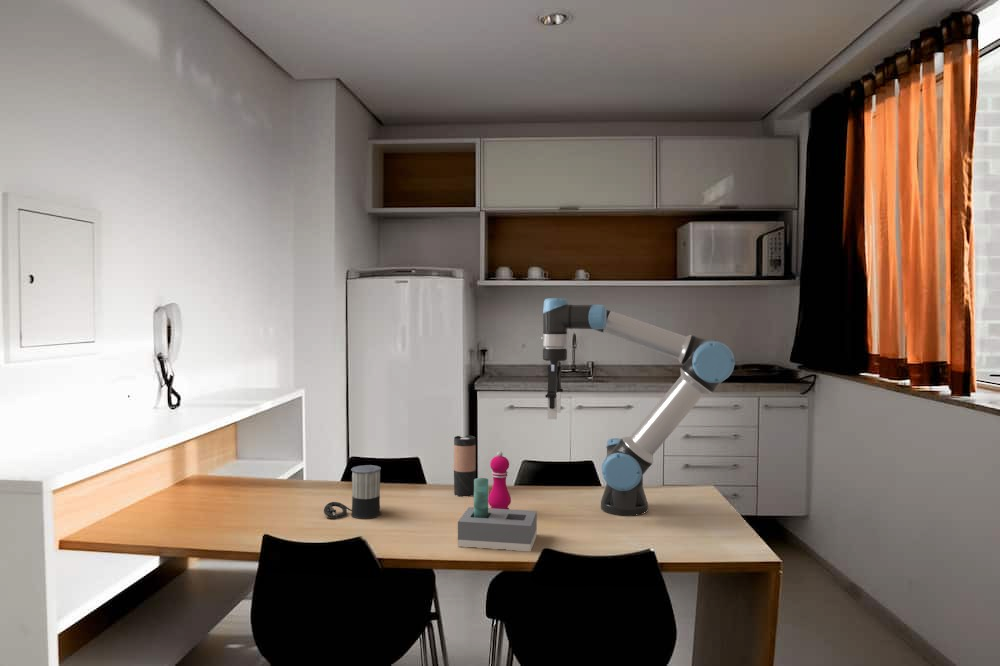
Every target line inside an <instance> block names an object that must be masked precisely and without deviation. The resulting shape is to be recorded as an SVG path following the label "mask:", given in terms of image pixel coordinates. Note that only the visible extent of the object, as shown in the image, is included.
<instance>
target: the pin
mask: <svg viewBox="0 0 1000 666" xmlns="http://www.w3.org/2000/svg"><path fill="white" fill-rule="evenodd" d="M488 497H489V479H488V478H485V477H477V478H476V477H475V479H474V495H473V507H474V518H488V508H489V503H488Z"/></svg>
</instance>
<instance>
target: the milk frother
mask: <svg viewBox="0 0 1000 666" xmlns="http://www.w3.org/2000/svg"><path fill="white" fill-rule="evenodd" d="M381 469H382V468H381V466H378V465H372V464H365V465H356V466H353V467H352V468H351V469H350V470H351V472H352V474H351V481H352V482H351V483H352V485H351V489H352V490H351V493H352V494H351V495H352V496H351V504H352V505H351V509H350V508H349V507H348V506H347V505H345V504H344V503H341V502H338V501H331V502H328V503H327V504H326V505H325V506H324V508H323V514H324V515H325V516H326V517H329V518H332V519H333V518H335V519H337V518H338V519H339V518H342V517H344V516H346V514H347V510H348V511H350V512H351V513H350V516H351V517H352V518H355V519H362V520H363V519H364V520H365V519H366V520H367V519H374V518H377V517H379V516H380V515H381V504H380V503H381V502H380V501H381V500H380V499H381V493H380V492H381ZM334 507H338V508H340V509H342V511H341V512H339V513H337V509H334Z"/></svg>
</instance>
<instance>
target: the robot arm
mask: <svg viewBox="0 0 1000 666" xmlns="http://www.w3.org/2000/svg"><path fill="white" fill-rule="evenodd" d="M542 308H543V312H542V336H541V338H540V339H541V340H542V346H543V349H542V360H543V361H546V362H547V361H549V362H550V363H549V364H548V366H547V378H548V379H547V393H546V394H545V395H544V396H545V398H547V420H557V419H558V418H557V417H558V416H557V414H558V413H561V408H562V407H561V402H562V401H561V399H562V397H561V395H562V393H563V392H564V389H563V388H562V368H563V367H562V366H561V364H562V363H561V362H565V361H567V360H568V349H567V347H568V329H569V330H574V329H575V330H592V331H593V330H595V331H597V332H600V333H603V334H606V335H608V336H611V337H615V338H617V339H621V340H623V341H626V342H629V343H631V344H634V345H636V346H640V347H642V348H645V349H649V350H651V351H654V352H656V353H660V354H662V355H665V356H668V357H671V358H674V359H676V360H678V362H679V364H681V367H680V368H679V370H680V376H679V377H678V378H677V380H676V381H675V382H674V383H673V384H672V386H671V387H670V388H669V389H668V391H667V392H666V393H665V394H664V396H663V397H662V398H661V399H660V400H659V402H657V404H656V405H655V406H654V408H653V409H652V410H651V411H650V412H649V414H648V415H647V416H645V418H644V419H643V421H641V423H640V425H639V426H638V427H637V428H636V429H635V431H633V433H632V434H631V435H630V436H623V437H622V438H619V437H618V438H613V437H612V438H608V439H607V441H606V457H605V458H604V460H603V463H602V465H601V473H602V474H601V475H602V477H603V479H604V481H605V483H606V485H605V488H604V492H603V494H602V497H601V498H600V499H601V500H600V509H601V510H602V511H603V512H605V513H607V512H608V514H611V513H612V514H611V515H616V514H618V515H617V516H625V515H632V516H637V515H636V514H641V515H643V514H642V513H644V512H646V511H647V510H648V511H649V504H648V503H649V502H648V499H647V496H646V493H645V490H644V485H643V484H644V483H643V481H644V475H645V473H646V472H647V470H649V468H650V467H651V466H652V465H653V464H654V457H653V456H654V454H656V452H657V451H658V449H660V447H661V446H662V445H663V443H665V441H666V440H667V439H668V438H669V436H670V435H671V434H672V433H673V432H674V430H676V428H677V427H678V426H679V425H680V423H681V422H682V421H684V419H685V417H686V416H688V414H689V412H691V410H693V408H694V407H695V406H696V404H697V403H698V402H699V401H700V400H701V398H702V397H703V396H704V395H707V394H709V395H710V394H713V392H714V391H715V390H716V389H717V388H718V387H719V386H720V385H721V383H722V382H724V381H725V380H726V379H727V380H728V378H729V377H730V376H731V375H732V373H733V372H734V368H735V365H736V364H735V363H736V361H735V359H736V358H735V355H734V353H733V351H732V350H731V348H730V347H729V346H728V345H727V344H725V343H723V342H722V341H719V340H716V339H710V338H704V337H703V338H702V337H698V336H695V335H693V334H689V335H687V336H686V335H683V334H680V333H677V332H674V331H671V330H668V329H665V328H662V327H660V326H656V325H654V324H650V323H647V322H644V321H641V320H639V319H637V318H633V317H630V316H627V315H624V314H621V313H618V312H616V311H612V310H609V309H607V307H606V306H605V304H604V305H603V304H596V303H595V304H569V302H568V299H567V298H563V297H562V298H557V297H556V298H555V297H553V298H552V297H549V298H545V299H544V301H543V307H542ZM648 511H647V512H648ZM647 512H646V513H647ZM644 514H645V513H644Z"/></svg>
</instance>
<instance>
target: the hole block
mask: <svg viewBox="0 0 1000 666" xmlns="http://www.w3.org/2000/svg"><path fill="white" fill-rule="evenodd" d="M537 518H538V511H537V510H530V509H529V510H526V509H525V510H524V509H512V508H511V509H510V508H509V509H494V508H491V507H488V518H474V506H473V507H472V506H469V507H468V508H467V509H466V510H465V511H464V513H463V514H462V515H461V517H460V518H459V519H458V521H457V547H458V546H463V547H462V548H467V547H477V548H476V549H482V548H492V549H491V550H497V549H506V550H505V551H512V550H516V552H527V553H528V552H530V553H531V552H532V549H533V546H534V543H535V540H536V538H537V536H538V535H537V529H538V528H537V527H538V525H537V524H538V522H537V521H538V519H537Z"/></svg>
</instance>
